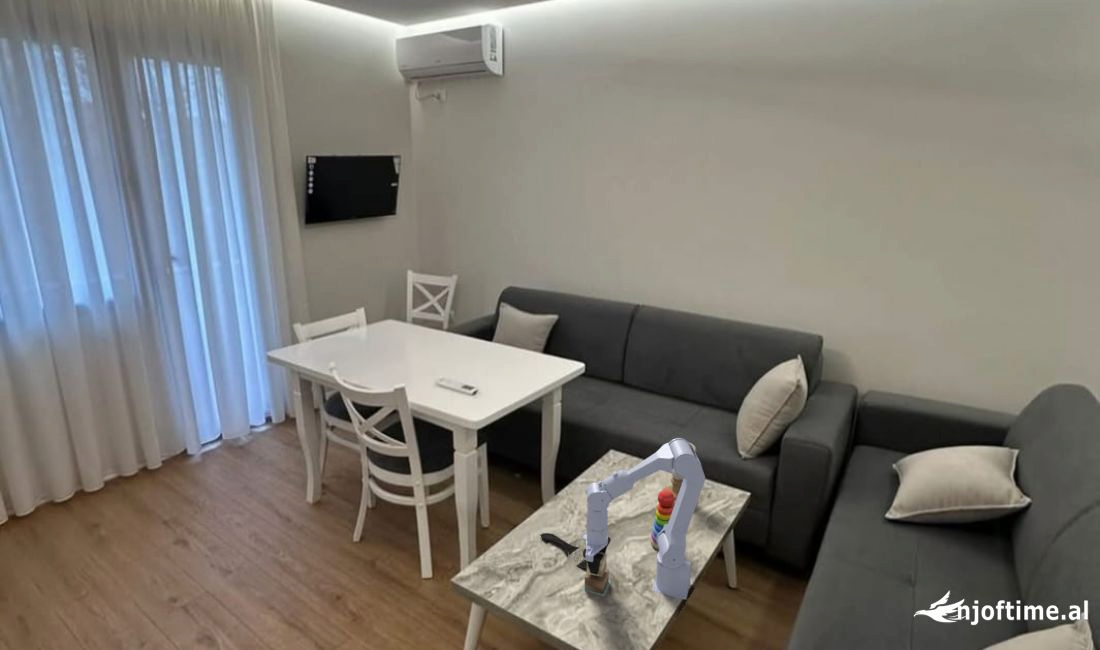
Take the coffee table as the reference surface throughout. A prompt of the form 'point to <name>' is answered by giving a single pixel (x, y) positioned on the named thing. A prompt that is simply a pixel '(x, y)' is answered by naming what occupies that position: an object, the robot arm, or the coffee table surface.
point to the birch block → (602, 566)
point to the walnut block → (597, 582)
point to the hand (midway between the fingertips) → (596, 567)
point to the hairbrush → (564, 547)
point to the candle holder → (676, 482)
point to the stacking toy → (662, 514)
